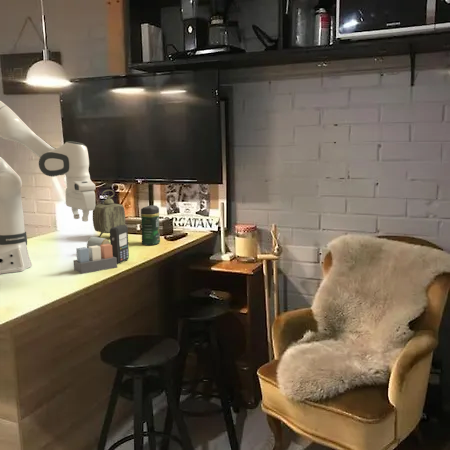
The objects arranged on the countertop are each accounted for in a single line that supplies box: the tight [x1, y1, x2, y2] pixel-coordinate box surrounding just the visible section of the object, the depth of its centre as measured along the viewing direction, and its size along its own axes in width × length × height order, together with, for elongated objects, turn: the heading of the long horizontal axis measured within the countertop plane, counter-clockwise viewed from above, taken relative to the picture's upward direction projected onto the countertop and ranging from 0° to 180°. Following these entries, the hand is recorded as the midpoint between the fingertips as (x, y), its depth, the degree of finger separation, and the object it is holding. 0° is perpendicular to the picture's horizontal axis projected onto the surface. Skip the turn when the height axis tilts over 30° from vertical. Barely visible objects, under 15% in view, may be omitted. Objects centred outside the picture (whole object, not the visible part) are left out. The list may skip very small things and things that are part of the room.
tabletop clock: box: [92, 189, 126, 238], centre depth 279 cm, size 14×9×25 cm, turn 133°
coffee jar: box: [140, 204, 161, 246], centre depth 265 cm, size 10×8×19 cm
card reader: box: [109, 224, 130, 265], centre depth 230 cm, size 9×4×15 cm, turn 160°
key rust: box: [100, 244, 113, 259], centre depth 222 cm, size 4×4×6 cm
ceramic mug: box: [86, 236, 110, 249], centre depth 248 cm, size 11×8×8 cm
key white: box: [89, 245, 101, 261], centre depth 219 cm, size 4×4×6 cm
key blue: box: [76, 246, 89, 263], centre depth 216 cm, size 4×4×6 cm
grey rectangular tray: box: [73, 257, 118, 275], centre depth 220 cm, size 15×8×4 cm, turn 127°
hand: (80, 220), depth 214 cm, fingers open, 7 cm apart
